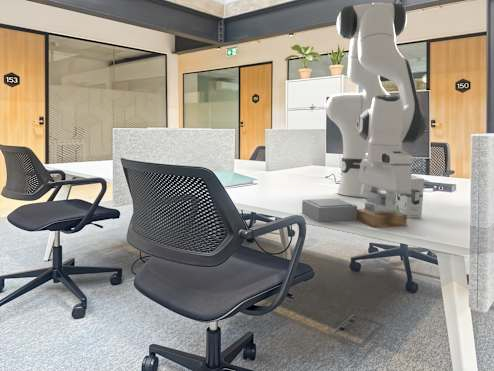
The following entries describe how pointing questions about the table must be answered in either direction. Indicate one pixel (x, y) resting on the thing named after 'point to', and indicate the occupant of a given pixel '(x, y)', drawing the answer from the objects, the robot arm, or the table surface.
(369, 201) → the housing
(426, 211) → the table surface
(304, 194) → the table surface
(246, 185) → the table surface
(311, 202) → the grey riser
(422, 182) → the ink box
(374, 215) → the walnut stand
